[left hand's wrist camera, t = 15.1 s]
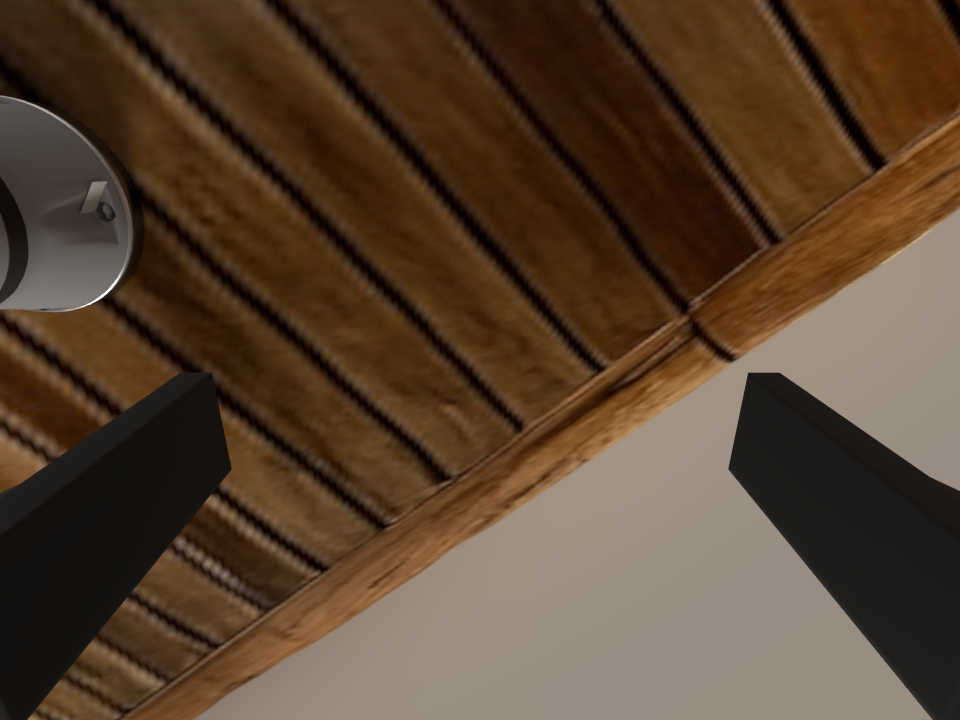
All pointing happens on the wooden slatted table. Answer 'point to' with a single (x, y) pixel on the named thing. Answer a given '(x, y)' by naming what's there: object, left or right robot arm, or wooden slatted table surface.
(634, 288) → the wooden slatted table surface
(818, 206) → the wooden slatted table surface
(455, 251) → the wooden slatted table surface
